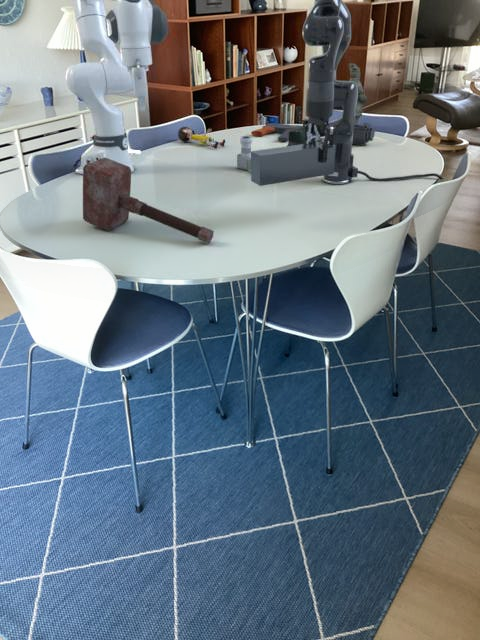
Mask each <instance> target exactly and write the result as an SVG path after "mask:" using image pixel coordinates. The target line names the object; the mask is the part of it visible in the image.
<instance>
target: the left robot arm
mask: <svg viewBox="0 0 480 640" xmlns="http://www.w3.org/2000/svg"><path fill="white" fill-rule="evenodd" d="M110 1H112V2H116V6H115V7H114V9H110V10H109V11H108V13H107V11H106V8H105V4H104V0H73V12H74V13H73V14H74V20H75V24H76V31H77V34H78V39H79V44H80V45H81V47H82V48H83V50H85V51H86V52H88V53H90V54H92V55H94V56H96V58H98V59H99V61H86V62H79V63H76V64H73V65H69V67H68V68H67V70H66V73H65V83H66V85H67V87H68V89H69V90H70V92H71V93H72V94H74V96H76V97H78V98H79V99H80V100H81V101H83V103H84V104H85V105H86V106H87V108H88V109H89V111H90V112H89V113H90V114H91V118H92V122H93V126H94V133H95V134H93V135H92V136H90V137H89V141H92V145H91V146H90V147H88V148H87V149H86V150H85V151H84V152H83V153H82V154H81V155H80V156H79V159H77V160H76V161H75V163H73V167H77V166H78V164H79V163H80V166H79V167H77V168H76V169H75V174H79V175H83V167H84V166H85V165H86V164H89V163H92V162H94V161H97V160H100V159H102V158H108V159H111V160H113V161H116V162H118V163H121V164H123V165H126V166H129V167H130V169H131V173H133V172H134V171H135V168H134V165H133V164H132V160H131V156H130V153H132V154H141V150H139V149H138V150H137V149H129V142H128V135H127V132H126V126H125V119H124V118H125V117H124V112H123V111H122V110H121V108H120V107H118V106H116V105H114V104H112V103H109V102H107V101H106V100H105V96H106V95H107V96H108V95H119V94H125V93H129V92H132V91H133V92H134V96H135V97H136V99H137V104H138V107H139V108H138V110H139V112H146V97H147V96H148V85H147V84H148V83H147V75H146V72H149V71H150V69H149V66H151V65H153V57H152V55H153V54H152V45H160V44H162V42H163V41H164V40H165V39H166V37H167V36H168V34H169V21H168V18H167V16H166V13H165V12H164V11H163V9H162V8H160V7H159V6H158V5H156V4H155V2H154V1H153V0H110ZM115 44H116V45H119V46H120V47H119V49H120V51H119V50H118V48H117V46H116V45H115Z"/></svg>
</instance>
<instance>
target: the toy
mask: <svg viewBox="0 0 480 640" xmlns="http://www.w3.org/2000/svg"><path fill="white" fill-rule="evenodd" d="M357 124H358V123H357ZM357 124H355V125H354V129H353V140H352V145H358V146H359V145H360V146H366V144H367V143H369V142H373V140H374V138H375V133H376V129H375V127H374V126H372V123H370V122H363V124H358V125H357Z"/></svg>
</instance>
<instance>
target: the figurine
mask: <svg viewBox="0 0 480 640" xmlns="http://www.w3.org/2000/svg"><path fill="white" fill-rule="evenodd" d="M210 132H212V128H209V129H207V130H206V132H205V133H204V134H202V135H201V134H198V133H195V130H193V129H191V128H189V127H188V126H182V127H180V128H179V129H178V132H177V137H178V139H179V141H182V142H191V141H192V140H194V141H198V142H200V143H201V144H203V145H204V146H210V147H212V148H214V149H215V150H216V149H218V145H219V146H221V147H225V144H226V139H222V141H218V140H216V139H215V138H213V137H212V136H207V135H208V134H209V133H210Z"/></svg>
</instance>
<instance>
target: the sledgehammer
mask: <svg viewBox="0 0 480 640" xmlns="http://www.w3.org/2000/svg"><path fill="white" fill-rule="evenodd" d="M131 186H132V172H131V169H130V167H129V166H126V165H123V164H121V163H118V162H116V161H113V160H111V159H108V158H102V159H100V160H97V161H94V162H92V163H89V164H86V165H85V166H84V167H83V174H82V219H83V220H84V222H86V223H88V224H91V225H93V226H95V227H97V228H100V229H102V230H105V231H106V232H109V231H112V230H113V229H115V228H117V227H120V226H121V225H123V224H125V223H127V222H128V221H129V216H130V213H131V214H136V215H138V216H141V217H145V218H148V219H150V220H152V221H155V222H156V223H160V224H161V225H164V226H167V227H169V228H172V229H174V230H177V231H179V232H182V233H184V234H186V235H189V236H191V237H194V238H196V239H197V240H198V241H200V242H203V243H206V244H210V243H211V242H212V240H213V238H214V230H213V229H210V228H208V227H206V226H200V225H198V224H195V223H193V222H190V221H187V220H185V219H183V218H181V217H178V216H176V215H173V214H171V213H168V212H166V211H163V210H161V209H159V208H156V207H153V206H152V205H149V204H147V203H146V202H143V201H141V200H139V199H138V198H135V197H133V196H131V190H132V189H131V188H132V187H131Z"/></svg>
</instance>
